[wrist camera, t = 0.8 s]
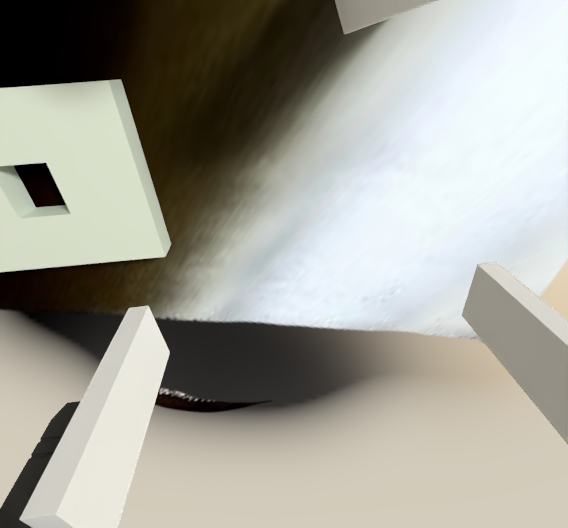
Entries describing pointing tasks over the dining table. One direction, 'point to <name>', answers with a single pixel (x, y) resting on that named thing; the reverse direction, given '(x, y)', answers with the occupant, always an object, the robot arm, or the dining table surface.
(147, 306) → the robot arm
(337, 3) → the milk
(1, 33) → the dining table surface
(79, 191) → the board
